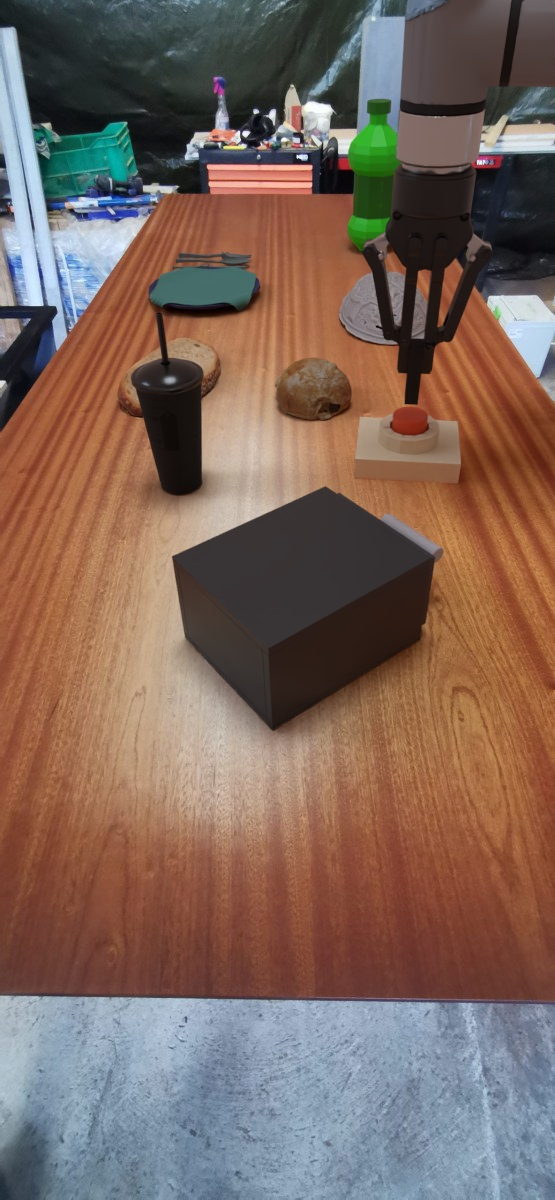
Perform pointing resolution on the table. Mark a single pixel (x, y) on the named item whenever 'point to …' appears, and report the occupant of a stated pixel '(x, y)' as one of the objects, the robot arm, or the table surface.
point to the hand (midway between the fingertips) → (411, 398)
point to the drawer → (414, 539)
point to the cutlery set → (206, 283)
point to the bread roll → (313, 389)
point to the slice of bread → (176, 349)
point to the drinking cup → (172, 417)
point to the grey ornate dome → (365, 300)
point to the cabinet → (301, 601)
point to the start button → (409, 421)
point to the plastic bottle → (372, 174)
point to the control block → (407, 452)
